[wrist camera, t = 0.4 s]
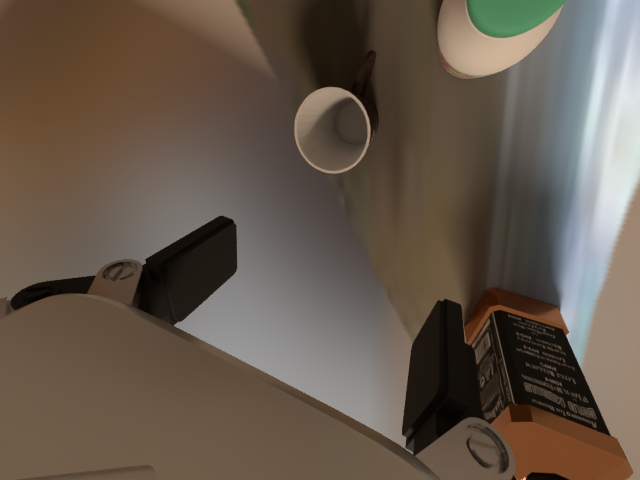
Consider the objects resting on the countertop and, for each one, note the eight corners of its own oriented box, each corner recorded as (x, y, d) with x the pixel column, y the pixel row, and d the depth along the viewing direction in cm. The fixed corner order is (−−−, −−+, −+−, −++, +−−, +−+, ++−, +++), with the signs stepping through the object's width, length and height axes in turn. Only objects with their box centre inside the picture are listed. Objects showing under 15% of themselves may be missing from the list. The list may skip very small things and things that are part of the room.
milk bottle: (484, -34, 25) (555, -238, 9) (543, 20, 26) (713, -89, 10) (422, 49, 30) (400, 8, 14) (473, 94, 30) (508, 105, 14)
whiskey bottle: (526, 352, 43) (649, 743, 18) (462, 330, 46) (487, 641, 20) (564, 307, 38) (825, 785, 12) (488, 285, 40) (568, 638, 15)
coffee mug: (349, 166, 40) (325, 187, 32) (314, 117, 38) (280, 125, 30) (421, 112, 33) (414, 121, 25) (382, 50, 31) (361, 38, 23)
